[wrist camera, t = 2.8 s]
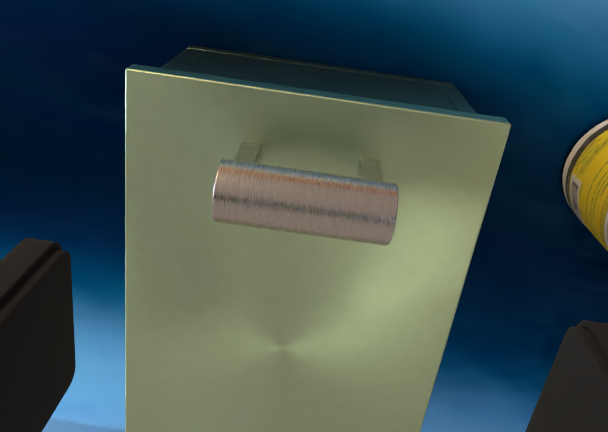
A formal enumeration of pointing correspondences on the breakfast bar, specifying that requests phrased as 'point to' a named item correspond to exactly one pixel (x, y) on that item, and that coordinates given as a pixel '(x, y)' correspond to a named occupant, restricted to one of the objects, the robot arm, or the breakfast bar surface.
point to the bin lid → (292, 252)
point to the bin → (319, 77)
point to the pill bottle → (589, 181)
